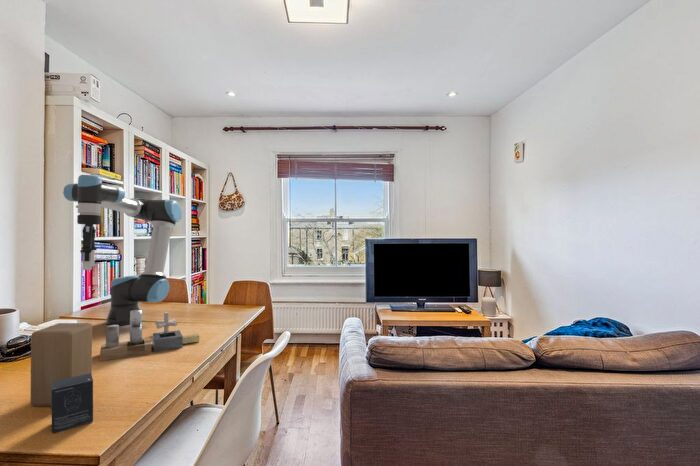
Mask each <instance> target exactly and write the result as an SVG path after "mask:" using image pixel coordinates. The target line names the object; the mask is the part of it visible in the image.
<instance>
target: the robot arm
mask: <svg viewBox="0 0 700 466" xmlns="http://www.w3.org/2000/svg"><path fill="white" fill-rule="evenodd" d="M102 180H103V179H102V177H100V176H99V175H94V174H81V175H79V176H78V179H77V183H76V182H75V183H69V184H66V185H65V186H64V188H63V190H62V191H63V192H62V193H63V197H64V198H65V199H66V200H67V201H70V202H75V203H76V202H77V205H75V208H76V209H77V219H76V221H77V225H84V226H83V227H82V248H81V249H80V253H81V254H82V271H89V270H91V271H92V267H95V263H96V262H95V260H96V259H95V255H96V254H95V252H96V251H97V250H98V249H97V247H96V246H95V245H96V244H95V243H96V242H95V241H96V240H95V238H96V233H97V232H96V229H95V226H94V225H102V216H101V215H102V208H104V209H108V210H112V211H116V212H119V213H123V214H125V215H126V216H127V217H131V218H135V219H138V220H142V221H146V222H150V224H151V226H152V231H151V236H150V241H149V246H148V252H147V257H146V261H145V267H144V271H143V272H141V273H140V275H138V274H135V275H126V276H120V277H119V276H118V277H115V278H113V279H112V280H111V284H110V309H109V312H108V314H107V316H106V320H105V321H106V323H105V324H106V325H107V326H110V325H119V326H126V325H130V311H132V310H141V309H140V307H139V303H140V302H141V303H151V304H152V303H160V302H162V301H164V300H165V299H166V298H167V296H168V295H169V292H170V282H169V280H168V279H167V275H166V274H165V273H164V271H165V266H166V261H167V255H168V249H169V244H170V238H171V232H172V229H173V228H175V227H176V223H178V222H180V221H181V219H182V217H183V216H182V215H183V212H182V211H183V210H182V207H181V206H180V203H179V202H177V201H176V200H174V199H137V198H128V197H125V196H126V192H125V189H124V188H123V187H121V186H120V185H117V184H114V183H113V184H110V183H106V182H103V181H102Z"/></svg>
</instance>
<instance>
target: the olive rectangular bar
mask: <svg viewBox="0 0 700 466" xmlns="http://www.w3.org/2000/svg"><path fill="white" fill-rule="evenodd" d="M182 336H183V345H185V344H192V343H193V344H194V343H199V342H200V334H199V333H195V334H188V335H182Z"/></svg>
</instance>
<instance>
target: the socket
mask: <svg viewBox="0 0 700 466" xmlns="http://www.w3.org/2000/svg"><path fill="white" fill-rule="evenodd" d="M183 336H184V335H183V333H181V330H179V329H178V330H169V332H164V331H162V332H161V331H160V332H154V333H152V348H153V353H154V352H155V353H156V352H162V351H167V350H168V351H169V350H174V349H182V348H183V345H184V344H183Z"/></svg>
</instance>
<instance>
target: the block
mask: <svg viewBox="0 0 700 466" xmlns="http://www.w3.org/2000/svg"><path fill="white" fill-rule="evenodd" d="M92 362H93V325H92V323H91V322H67V323H65V322H62V323H61V322H59V323H56V324H53V325H49V326H47V327H45V328H41V329H39V330H36V331H34V332H32V333H31V335H30V405H31V406H32V407H43V406H44V407H46V406H48V407H50V406H51V407H52V382H53V381H56V380H61V379H66V378H71V377H75V376H80V375H85V374H89V373H91V374H92V373H93V372H92V371H93V370H92V369H93V368H92V366H93V365H92V364H93V363H92ZM92 375H93V374H92Z"/></svg>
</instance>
